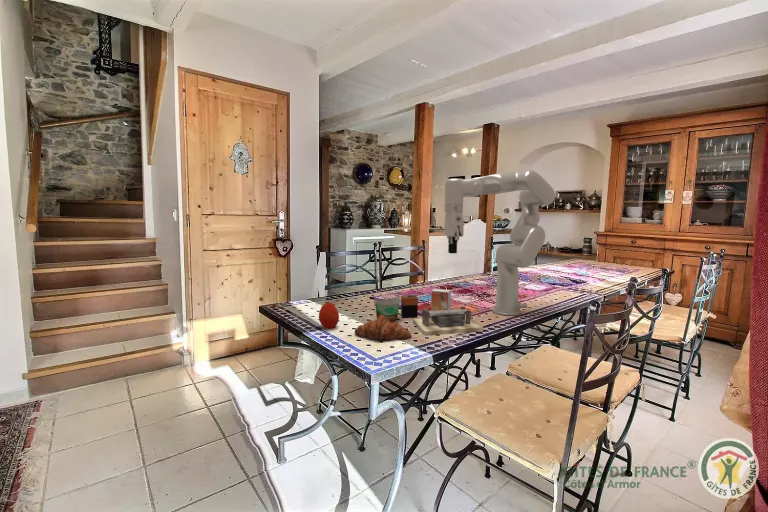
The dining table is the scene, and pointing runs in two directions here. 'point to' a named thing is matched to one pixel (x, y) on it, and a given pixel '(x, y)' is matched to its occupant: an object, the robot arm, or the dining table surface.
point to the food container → (388, 308)
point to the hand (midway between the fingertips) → (452, 253)
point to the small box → (440, 299)
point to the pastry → (382, 330)
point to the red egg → (328, 316)
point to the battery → (409, 306)
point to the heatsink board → (446, 323)
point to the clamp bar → (447, 312)
